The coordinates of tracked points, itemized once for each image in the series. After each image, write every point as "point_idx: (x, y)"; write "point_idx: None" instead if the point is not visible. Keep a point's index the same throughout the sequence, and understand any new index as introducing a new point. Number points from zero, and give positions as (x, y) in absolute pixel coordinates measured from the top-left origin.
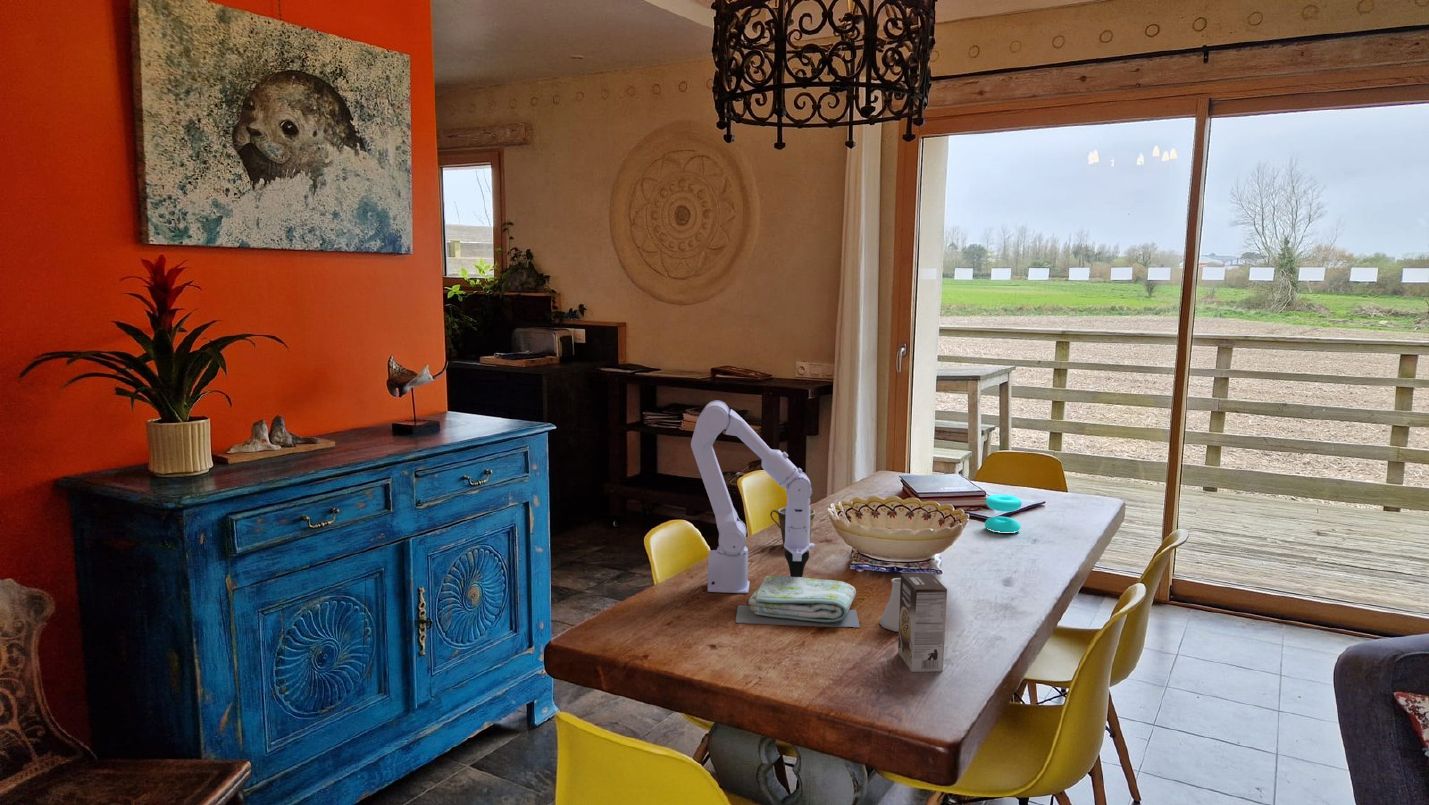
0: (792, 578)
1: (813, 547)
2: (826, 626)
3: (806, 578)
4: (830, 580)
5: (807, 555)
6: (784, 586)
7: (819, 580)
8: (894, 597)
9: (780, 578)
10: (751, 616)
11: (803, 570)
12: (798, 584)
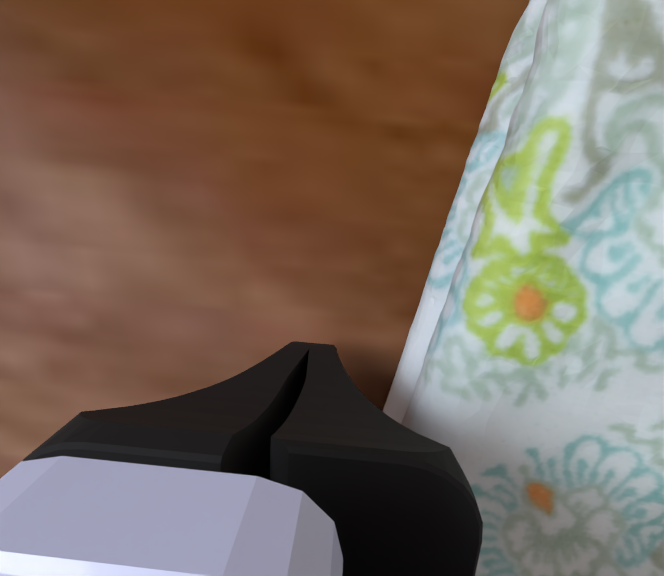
0: (485, 471)
1: (327, 545)
2: None
3: (518, 353)
4: (634, 75)
5: (358, 486)
6: (634, 530)
7: (573, 216)
8: None
9: (480, 560)
10: None
11: (353, 384)
12: (633, 429)
